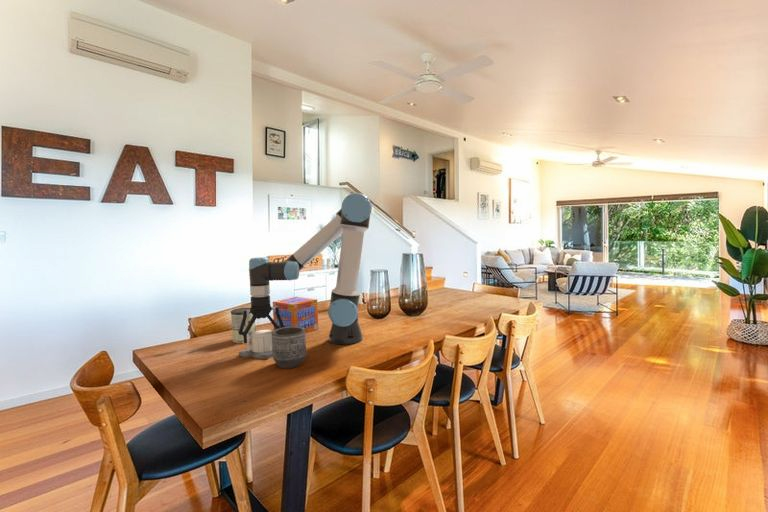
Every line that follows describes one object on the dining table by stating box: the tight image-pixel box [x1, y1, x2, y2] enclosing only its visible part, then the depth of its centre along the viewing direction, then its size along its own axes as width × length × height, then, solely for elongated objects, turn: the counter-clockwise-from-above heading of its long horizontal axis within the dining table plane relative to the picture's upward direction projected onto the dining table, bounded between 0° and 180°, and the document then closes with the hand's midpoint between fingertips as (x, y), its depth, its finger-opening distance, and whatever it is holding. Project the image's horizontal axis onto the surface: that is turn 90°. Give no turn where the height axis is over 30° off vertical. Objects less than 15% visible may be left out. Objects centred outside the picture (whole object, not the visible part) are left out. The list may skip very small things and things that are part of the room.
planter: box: [272, 327, 307, 369], centre depth 138 cm, size 12×12×13 cm
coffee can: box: [230, 307, 256, 344], centre depth 171 cm, size 10×10×14 cm
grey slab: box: [238, 346, 273, 360], centre depth 152 cm, size 14×12×6 cm
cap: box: [250, 329, 273, 353], centre depth 152 cm, size 8×8×7 cm
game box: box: [272, 296, 319, 334], centre depth 185 cm, size 16×16×16 cm
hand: (262, 348), depth 152 cm, fingers closed on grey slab, 10 cm apart
